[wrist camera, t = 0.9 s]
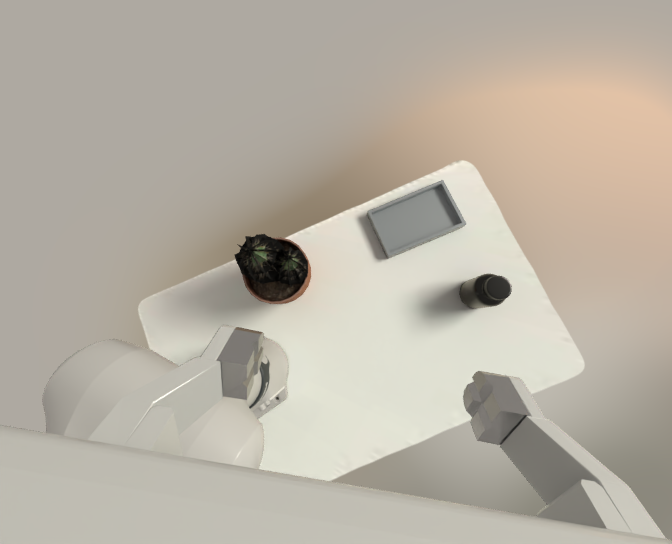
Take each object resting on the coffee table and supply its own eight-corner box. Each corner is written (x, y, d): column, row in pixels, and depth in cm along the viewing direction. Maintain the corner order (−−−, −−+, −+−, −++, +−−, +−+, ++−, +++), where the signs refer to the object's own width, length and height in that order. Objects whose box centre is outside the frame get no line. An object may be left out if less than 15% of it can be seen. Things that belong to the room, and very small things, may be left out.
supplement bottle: (492, 285, 65) (522, 278, 53) (483, 313, 64) (512, 311, 52) (463, 275, 66) (487, 265, 54) (454, 301, 65) (476, 297, 53)
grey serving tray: (387, 258, 68) (388, 256, 65) (367, 215, 70) (367, 211, 67) (462, 227, 68) (466, 223, 65) (439, 184, 70) (442, 179, 68)
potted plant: (278, 317, 67) (234, 315, 42) (254, 269, 69) (199, 241, 45) (327, 289, 67) (311, 271, 43) (301, 242, 70) (272, 201, 45)
